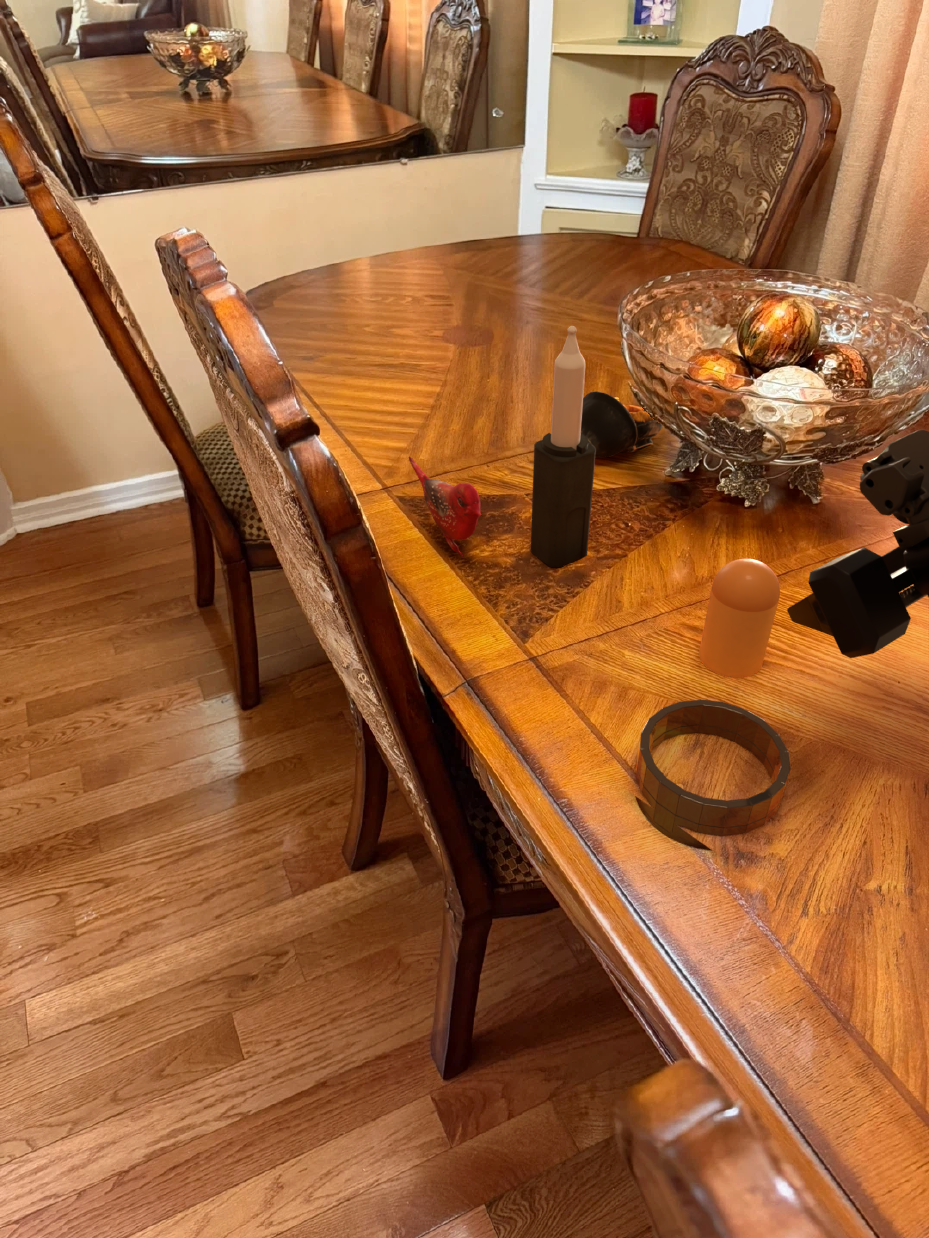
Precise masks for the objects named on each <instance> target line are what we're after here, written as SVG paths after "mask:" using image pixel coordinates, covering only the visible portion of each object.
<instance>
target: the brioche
mask: <svg viewBox="0 0 929 1238" xmlns="http://www.w3.org/2000/svg"><path fill="white" fill-rule="evenodd" d="M780 597H781V585H780V581H779V578H778V576H777V575H776V573H775V572H774V570H773V569H772V568H771V567H770V566H769V565H768V564H766V563H764V562H762V561H761V560H757V559H753V558H739V559H734V560H732V561H730V562H727V563H726V564H725V565H723V566H722V567H721V568H720V569H719V570H718V571H717V573H716V574H715V575H714V578H713V580H712V584H711V588H710V593H709V597H708V603H707V607H706V613H705V619H704V624H703V629H702V634H701V640H700V645H699V649H698V656H699V660H700V662H701V663H702V664H703V666H704V667H705V668H706V669H708V670H709V671H711V672H713V673H714V674H716V675H719V676H722V677H726V678H732V679H743V678H749V677H752V676H754V675H756V674H757V673H758V672H760V670H761V669H762V667H763V664H764V660H765V656H766V653H767V649H768V645H769V641H770V637H771V633H772V629H773V625H774V621H775V619H776V618H775V617H776V612H777V609H778V606H779V601H780Z"/></svg>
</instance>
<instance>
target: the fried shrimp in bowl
mask: <svg viewBox="0 0 929 1238" xmlns="http://www.w3.org/2000/svg"><path fill="white" fill-rule="evenodd" d="M643 408H644V407H643ZM643 408H642V406H637V405H633V404H623V403H622V402H620V398H619V397H615V396H612V395H611V394H609V393H606V392H602V391H597V390H596V391H590V392H587V394H585V395H584V396H583V407H582V421H581V434H583V435H585V436H586V437H587V439H588V443H590V444H591V445H593V446H594V447H595V448H596V456H595V458H601V459H602V458H603V459H605V458H606V459H607V458H611V457H613V456H615V455H618V454H620V453H621V452H628V453H634V452H637V451H641V450H643V449H645V448H648V447H651V446H653V444H654V442H653V440H652V439H653V438H654V437H655V436H657V435H658V434H659V433H660V432H661V430H662V429H663V426H662V424H661V423H658V422H656V420H654V419H653V418H651V417H650V415H649V414H648V413H649V412H646V411H644V409H643Z"/></svg>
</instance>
